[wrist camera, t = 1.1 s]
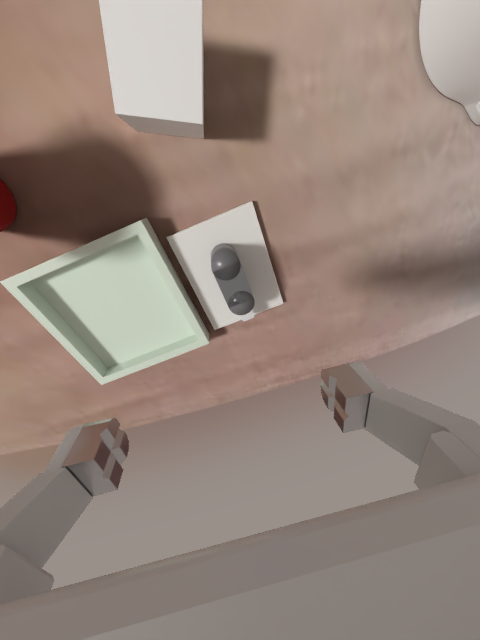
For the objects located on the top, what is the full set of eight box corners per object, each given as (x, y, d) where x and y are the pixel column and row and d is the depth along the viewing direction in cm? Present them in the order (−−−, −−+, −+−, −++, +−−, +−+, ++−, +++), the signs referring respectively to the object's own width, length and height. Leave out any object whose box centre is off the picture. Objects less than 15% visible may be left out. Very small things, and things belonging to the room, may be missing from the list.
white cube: (203, 49, 19) (202, -4, 14) (204, 139, 22) (203, 124, 17) (126, 36, 18) (94, -25, 13) (137, 132, 21) (114, 113, 16)
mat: (251, 200, 25) (252, 201, 24) (282, 301, 31) (283, 303, 31) (167, 236, 26) (166, 237, 25) (214, 327, 32) (214, 330, 32)
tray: (146, 217, 25) (140, 220, 22) (209, 333, 32) (209, 343, 30) (17, 274, 26) (-1, 281, 24) (108, 372, 34) (101, 384, 32)
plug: (206, 249, 26) (206, 258, 23) (230, 239, 26) (234, 246, 23) (235, 314, 31) (239, 330, 27) (256, 306, 31) (262, 321, 27)
